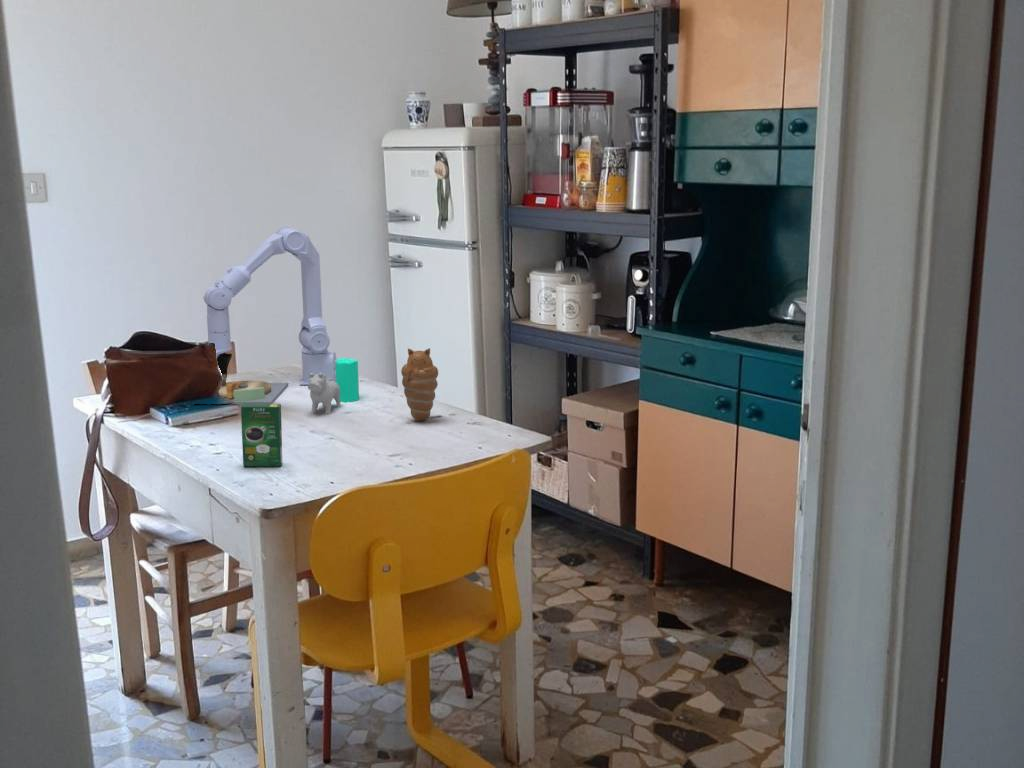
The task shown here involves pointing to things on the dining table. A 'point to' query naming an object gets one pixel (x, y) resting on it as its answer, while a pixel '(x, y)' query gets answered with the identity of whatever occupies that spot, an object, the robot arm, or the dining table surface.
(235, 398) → the pale green block
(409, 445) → the dining table surface
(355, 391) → the candle
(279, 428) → the coffee box
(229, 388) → the dial
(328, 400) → the dog figurine
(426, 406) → the cat ice cream
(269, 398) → the grey flat square board
